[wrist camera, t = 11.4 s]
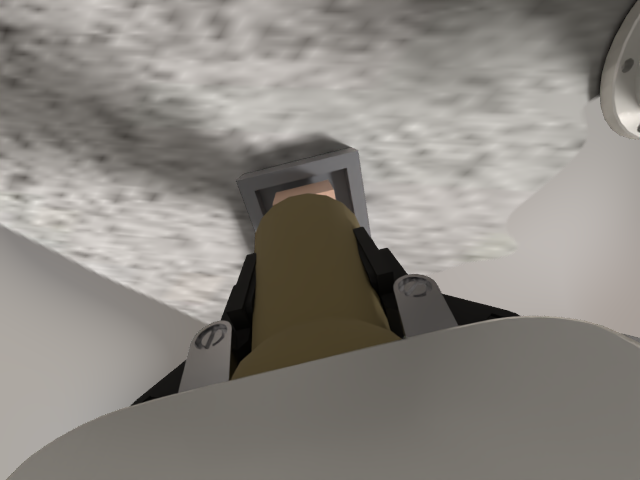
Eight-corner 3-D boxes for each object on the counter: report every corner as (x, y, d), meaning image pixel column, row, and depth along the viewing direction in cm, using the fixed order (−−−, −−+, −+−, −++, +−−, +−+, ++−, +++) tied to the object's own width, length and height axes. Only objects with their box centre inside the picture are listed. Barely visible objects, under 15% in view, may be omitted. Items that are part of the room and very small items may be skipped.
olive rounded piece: (229, 239, 13) (34, 594, 3) (320, 168, 12) (445, 380, 2) (301, 307, 16) (312, 631, 6) (382, 253, 14) (577, 539, 4)
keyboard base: (351, 147, 20) (358, 150, 18) (378, 320, 28) (386, 337, 26) (242, 174, 20) (236, 180, 18) (302, 338, 28) (302, 357, 26)
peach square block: (328, 179, 18) (334, 189, 16) (338, 227, 20) (345, 244, 17) (275, 192, 18) (272, 205, 16) (290, 239, 20) (289, 258, 17)
